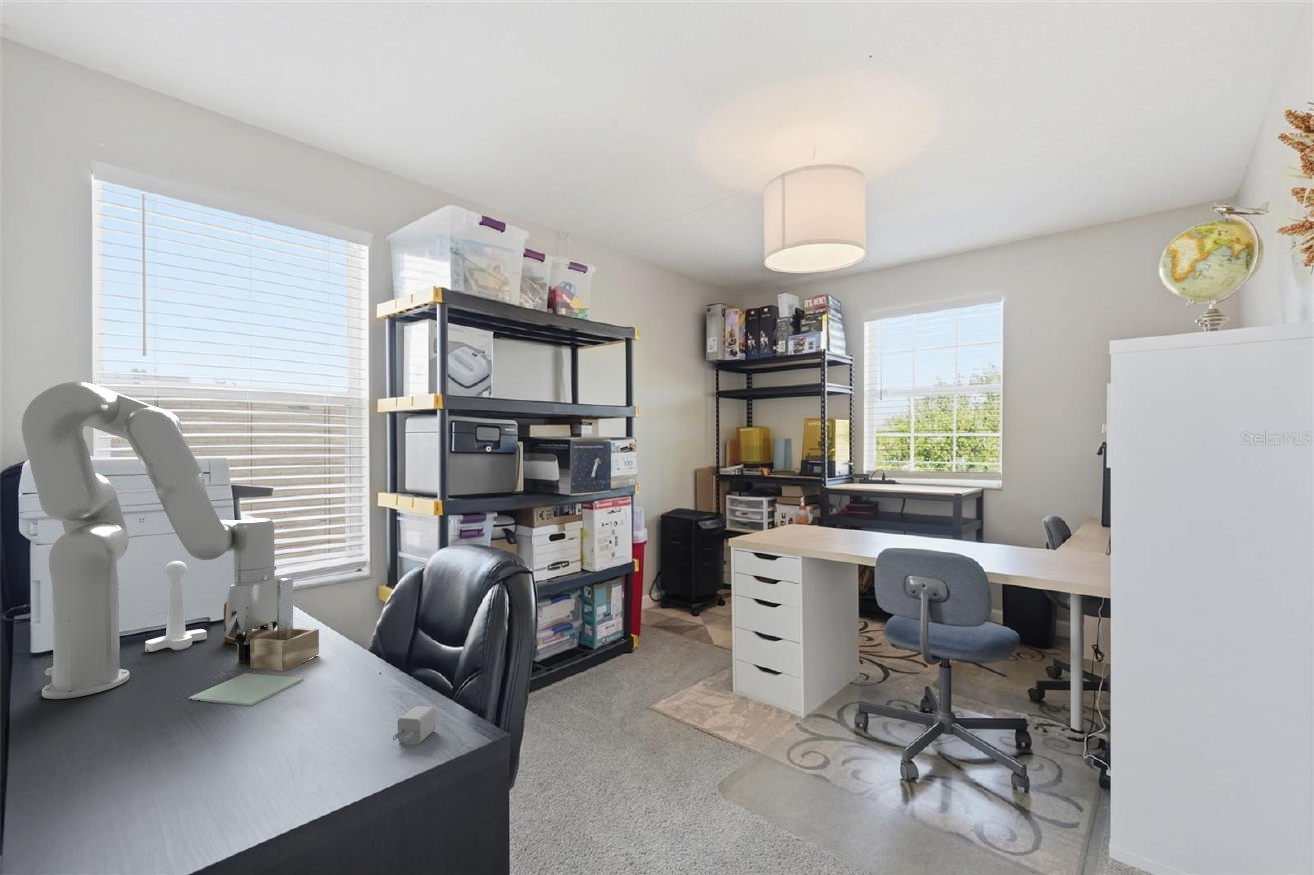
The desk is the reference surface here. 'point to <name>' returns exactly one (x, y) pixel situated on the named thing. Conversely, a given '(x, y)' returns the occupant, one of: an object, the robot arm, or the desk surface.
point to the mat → (246, 689)
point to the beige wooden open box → (282, 648)
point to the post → (284, 608)
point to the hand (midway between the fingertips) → (255, 657)
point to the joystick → (175, 614)
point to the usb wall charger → (416, 725)
